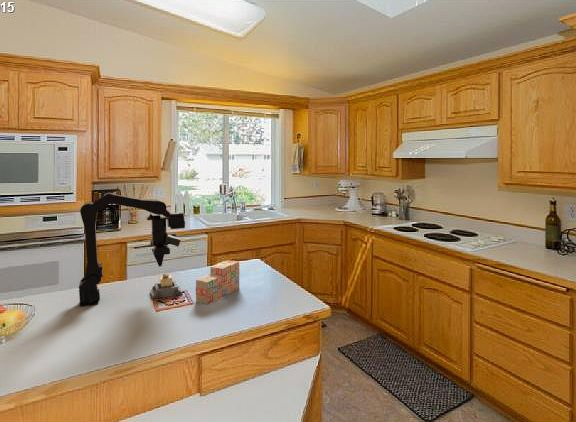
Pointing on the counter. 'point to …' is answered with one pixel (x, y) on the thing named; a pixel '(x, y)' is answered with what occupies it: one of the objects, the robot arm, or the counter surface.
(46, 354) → the counter surface
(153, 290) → the chassis
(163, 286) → the brass knobbed block
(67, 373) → the counter surface
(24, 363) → the counter surface
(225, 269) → the stack of blocks
